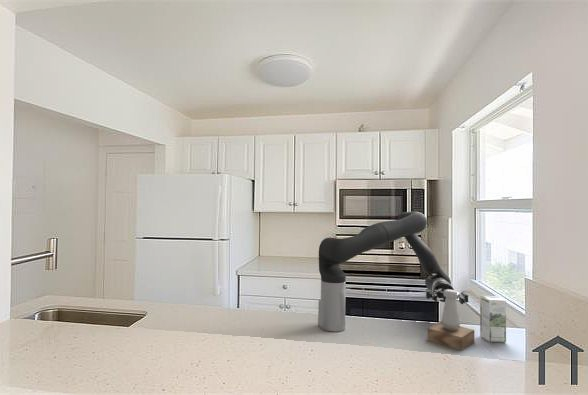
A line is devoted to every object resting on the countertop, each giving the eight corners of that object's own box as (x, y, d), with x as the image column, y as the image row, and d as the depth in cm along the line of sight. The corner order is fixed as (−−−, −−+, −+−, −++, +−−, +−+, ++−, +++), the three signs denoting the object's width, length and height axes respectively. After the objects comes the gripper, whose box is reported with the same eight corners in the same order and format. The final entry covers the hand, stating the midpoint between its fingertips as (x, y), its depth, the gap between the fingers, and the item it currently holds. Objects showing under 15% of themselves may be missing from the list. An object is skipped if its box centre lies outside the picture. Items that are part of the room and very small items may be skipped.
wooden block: (427, 340, 109) (427, 328, 109) (441, 332, 116) (441, 321, 117) (462, 350, 101) (461, 337, 101) (474, 341, 108) (474, 329, 108)
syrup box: (496, 336, 114) (495, 295, 114) (506, 343, 108) (506, 299, 108) (480, 336, 114) (479, 294, 115) (489, 342, 108) (489, 299, 109)
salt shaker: (462, 332, 105) (462, 292, 106) (444, 330, 107) (443, 291, 107) (457, 326, 111) (456, 288, 112) (439, 325, 112) (439, 287, 113)
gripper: (423, 279, 131) (427, 287, 116) (462, 282, 127) (471, 291, 112) (423, 297, 131) (427, 308, 116) (462, 301, 127) (471, 313, 111)
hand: (449, 300), depth 114 cm, fingers open, 8 cm apart
